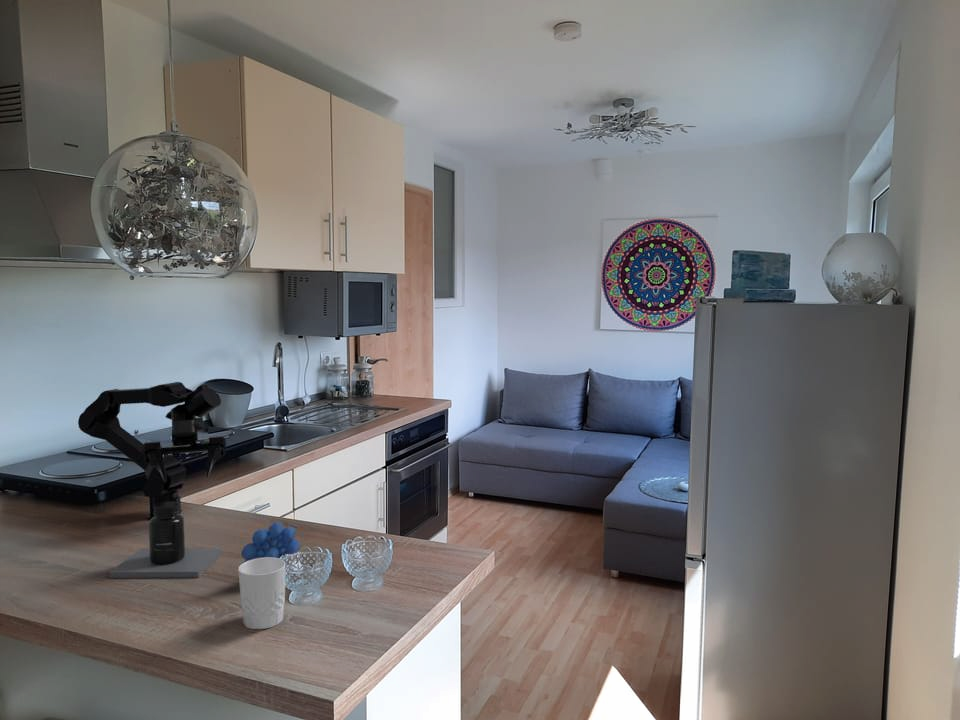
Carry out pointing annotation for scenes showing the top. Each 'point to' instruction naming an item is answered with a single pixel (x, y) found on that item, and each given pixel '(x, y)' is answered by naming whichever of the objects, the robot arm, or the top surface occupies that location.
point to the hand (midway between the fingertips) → (186, 478)
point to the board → (167, 565)
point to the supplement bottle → (166, 534)
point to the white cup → (262, 592)
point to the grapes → (271, 543)
